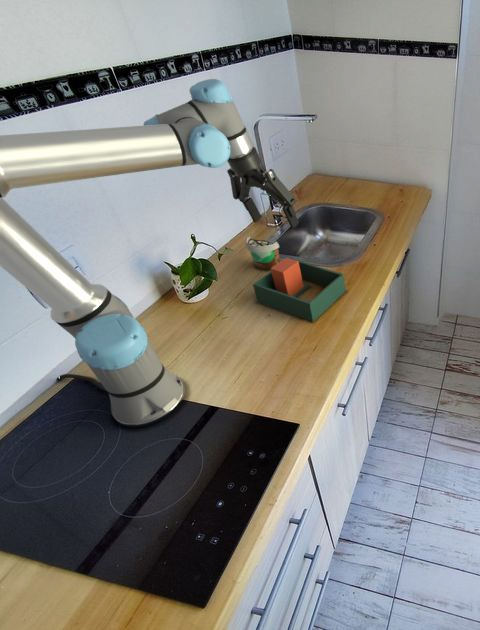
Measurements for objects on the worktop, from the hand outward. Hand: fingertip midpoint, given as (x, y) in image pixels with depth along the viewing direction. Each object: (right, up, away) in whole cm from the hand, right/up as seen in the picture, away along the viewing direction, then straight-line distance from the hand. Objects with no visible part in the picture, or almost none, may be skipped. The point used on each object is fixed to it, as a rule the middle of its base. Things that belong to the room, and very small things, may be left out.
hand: (276, 222), depth 112 cm
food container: (-16, -9, +32) cm, 36 cm away
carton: (-2, -19, +20) cm, 27 cm away
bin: (+2, -20, +18) cm, 27 cm away
